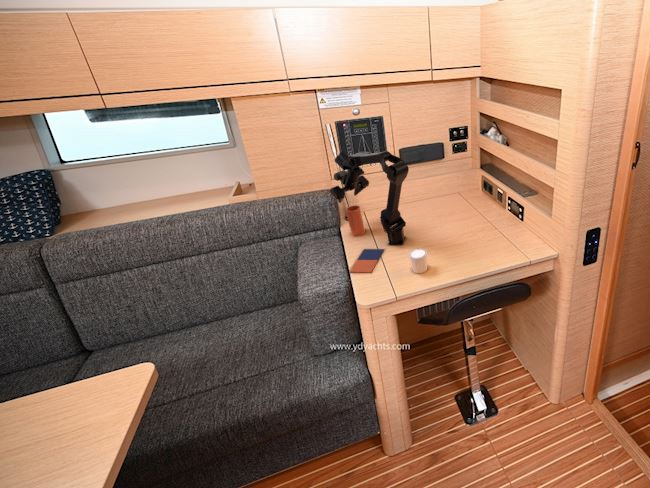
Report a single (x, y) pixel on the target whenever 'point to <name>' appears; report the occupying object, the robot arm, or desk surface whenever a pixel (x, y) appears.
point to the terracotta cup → (355, 220)
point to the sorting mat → (366, 261)
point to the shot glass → (418, 260)
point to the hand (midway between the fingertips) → (347, 198)
